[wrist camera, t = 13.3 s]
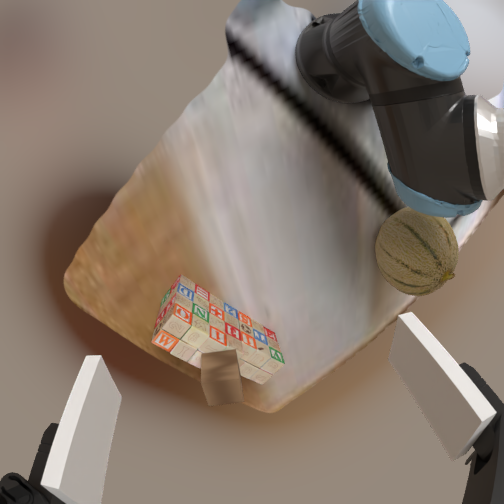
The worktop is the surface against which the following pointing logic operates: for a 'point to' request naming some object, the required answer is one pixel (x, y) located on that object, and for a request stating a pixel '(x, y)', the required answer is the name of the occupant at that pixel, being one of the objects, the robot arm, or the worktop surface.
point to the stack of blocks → (214, 331)
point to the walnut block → (221, 377)
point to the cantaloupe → (416, 251)
